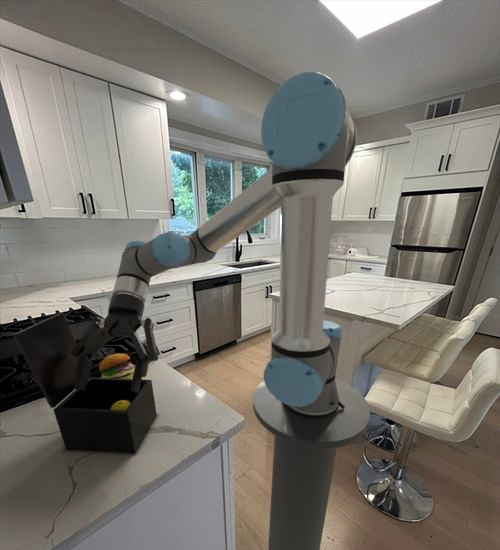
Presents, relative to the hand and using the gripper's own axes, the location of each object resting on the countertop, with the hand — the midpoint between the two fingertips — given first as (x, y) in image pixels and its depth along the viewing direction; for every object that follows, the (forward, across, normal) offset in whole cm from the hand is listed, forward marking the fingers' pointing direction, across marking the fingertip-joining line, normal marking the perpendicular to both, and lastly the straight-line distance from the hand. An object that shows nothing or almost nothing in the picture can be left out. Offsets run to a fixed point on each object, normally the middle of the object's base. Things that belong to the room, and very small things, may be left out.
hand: (106, 390), depth 58 cm
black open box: (+8, +2, -12) cm, 14 cm away
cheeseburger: (-8, +12, -27) cm, 31 cm away
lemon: (+7, 0, -11) cm, 13 cm away
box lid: (-6, +11, +2) cm, 13 cm away
